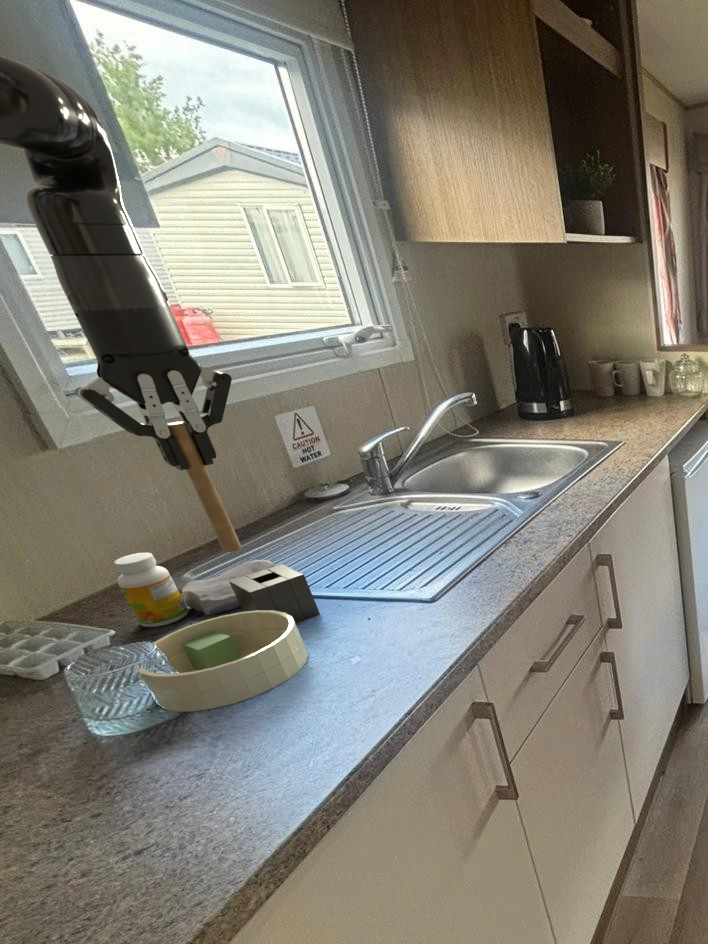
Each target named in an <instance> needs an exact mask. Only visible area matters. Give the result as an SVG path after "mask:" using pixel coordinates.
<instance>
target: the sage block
mask: <svg viewBox="0 0 708 944" xmlns="http://www.w3.org/2000/svg"><path fill="white" fill-rule="evenodd" d="M182 646H183V648H184V650H185V652H186V654H187V656H188V657H189V659H190V661H191V663H192V665H193V667H194V668H195V669H197V670H203V669H208V668H213V667H216V666H219V665H223V664H226V663H229V662H232V661H235V660H238V659H240V658H241V657H240V654H239V652H238V650H237V648H236V646H235V644H234V642H233V640H232V638H231V636H228V635H225V634H222V633H218V632H215V631H213V632H210V633H208V634H205V635H203V636H201V637H198V638H196V639H194V640H191V641H189V642H186V643H184V644H182Z"/></svg>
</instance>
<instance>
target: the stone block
mask: <svg viewBox="0 0 708 944" xmlns="http://www.w3.org/2000/svg"><path fill="white" fill-rule="evenodd" d="M275 566H277V565H276V564H275V563H273V562H272V561H271V560H268V559H253V560H248V561H245V562H243V563H241V564H238V565H236V566H233V567H231V568H229V569H227V570H225V572H223V573H222V574H220V575H218V576H216V577H211V578H207V579H204V580H192V581H188V582H187V583H186V584H185V585H184V587H183V588H182V590H181V597H182V599H183V601H184V603H185V605H186V607H187V606H188V608H191V609H193V610H195V611H196V612H202V613H204V615H206V616H211V615H215V614H218V613H221V612H226V611H230V610H234V609H236V608H241V606H240V604H239V602H238V600H237V598H236V595H235V593H234V591H233V589H232V587H231V585H230V583H229V581H231V580H234V579H238V578H241V577H244V576H247V575H250V574H253V573H256V572H260V571H263V570H266V569H269V568H272V567H275Z"/></svg>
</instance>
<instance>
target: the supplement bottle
mask: <svg viewBox="0 0 708 944" xmlns="http://www.w3.org/2000/svg"><path fill="white" fill-rule="evenodd" d="M113 564H114V566H115V568H116V569H117V571H118V573H121V575H120V576H119V577H117V579H116V581H117V585H118V586H119V589H120V590H121V592H122V594H123V597H125V599H126V601H127V603H128V604H129V606H130V608H131V610H132V612H133V614H134V616H135V617H136V619H137V621H138V622H139V625H141V626H142V627H146V628H155V627H157V628H158V627H163V626H166V625H167V626H168V625H170V623H171V624H173V623H176V622H178V621H180V620H182V619H184V618H185V617H186V616H188V614H189V609H188V607H187V604H186V603H185V601H184V599H183V596H182V594H181V593H180V592H179V589H178V587H177V586H176V584H175V581H174V580H173V577H172V576H171V574H170V572H169V570H168V569H167V568H166V567H163V566H161V565H157V560H156V559H155V557H154V555H153V554H152V553H151V552H136V553H132V554H128V555H124V556H121V557H119V558H117V559H116V560H114V562H113Z"/></svg>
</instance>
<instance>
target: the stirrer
mask: <svg viewBox="0 0 708 944" xmlns="http://www.w3.org/2000/svg"><path fill="white" fill-rule="evenodd" d="M167 425H168V428H169V430H170V434H171V437H175V438H176V440H177V443H178V445H179V447H180V449H181V451H182V453H183V456H184V458H185V460H186V462H187V464H188V467H189V469H186V470H185V471H186V473H187V475H188V477H189V479H190V482H191V483H192V486H193V488H194V491H195V492H196V495H197V497H198V499H199V501H200V503H201V506H202V507H203V510H204V512H205V515H206V517H207V518H208V521H209V522H210V523H209V524H210V526H211V528H212V529H213V532H214V533H215V536H216V538H217V540H218V542H219V544H220V547H221V549H222V551H223V552H224V553H233V552H237V551H239V550H242V544H241V543H240V540H239V538H238V535H237V533H236V532H235V531H236V530H235V529H234V527H233V525H232V522H231V521H230V517H229V516H228V513H227V511H226V509H225V506H224V505H223V502H222V500H221V497H220V495H219V493H218V491H217V489H216V487H215V484H214V482H213V479H212V478H211V475H210V473H209V471H208V468H207V465H205V464H204V462H203V459H202V457H201V455H200V453H199V451H198V448H197V446H196V444H195V442H194V439H193V437H192V435H191V432H190V430H189V428H188V426H187V423H186V422H183V421H173V422H167Z"/></svg>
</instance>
